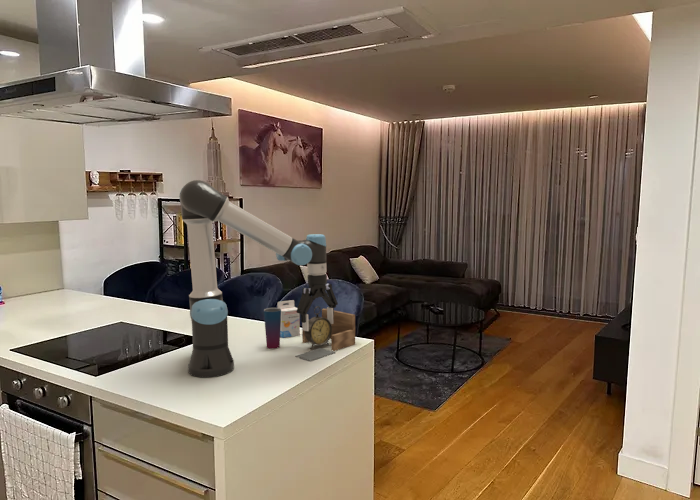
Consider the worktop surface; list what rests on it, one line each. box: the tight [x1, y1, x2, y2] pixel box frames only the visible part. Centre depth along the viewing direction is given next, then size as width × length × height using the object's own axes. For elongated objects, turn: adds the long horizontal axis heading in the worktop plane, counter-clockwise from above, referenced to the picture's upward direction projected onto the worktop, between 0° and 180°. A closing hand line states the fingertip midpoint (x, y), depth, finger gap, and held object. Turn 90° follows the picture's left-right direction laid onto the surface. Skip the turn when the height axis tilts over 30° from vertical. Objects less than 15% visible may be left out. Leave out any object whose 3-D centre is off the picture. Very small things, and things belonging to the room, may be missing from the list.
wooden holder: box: [301, 308, 356, 352], centre depth 198 cm, size 12×18×12 cm
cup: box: [263, 307, 281, 350], centre depth 193 cm, size 7×7×15 cm
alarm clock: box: [305, 306, 332, 350], centre depth 193 cm, size 11×5×16 cm, turn 133°
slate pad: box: [294, 347, 336, 362], centre depth 184 cm, size 13×8×1 cm, turn 138°
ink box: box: [277, 299, 301, 339], centre depth 210 cm, size 8×5×15 cm, turn 123°
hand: (318, 326), depth 194 cm, fingers open, 13 cm apart
